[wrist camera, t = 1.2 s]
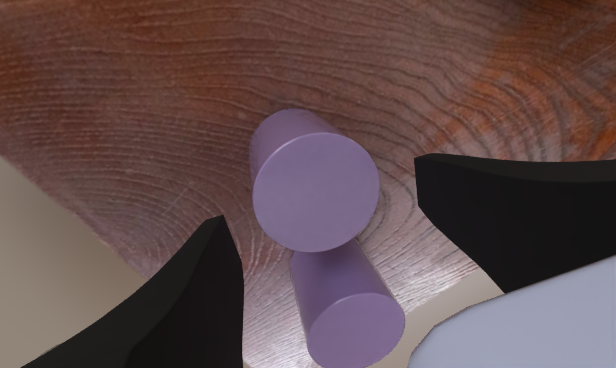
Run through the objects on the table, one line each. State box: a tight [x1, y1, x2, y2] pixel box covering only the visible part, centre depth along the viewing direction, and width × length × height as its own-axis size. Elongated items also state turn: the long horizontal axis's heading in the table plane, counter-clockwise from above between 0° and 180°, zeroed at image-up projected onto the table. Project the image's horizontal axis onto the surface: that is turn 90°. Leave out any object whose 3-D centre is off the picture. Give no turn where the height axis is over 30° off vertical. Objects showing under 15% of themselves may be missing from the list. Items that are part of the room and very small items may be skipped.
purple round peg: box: [289, 237, 405, 368], centre depth 18 cm, size 5×5×6 cm
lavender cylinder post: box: [248, 108, 380, 253], centre depth 15 cm, size 5×5×6 cm
